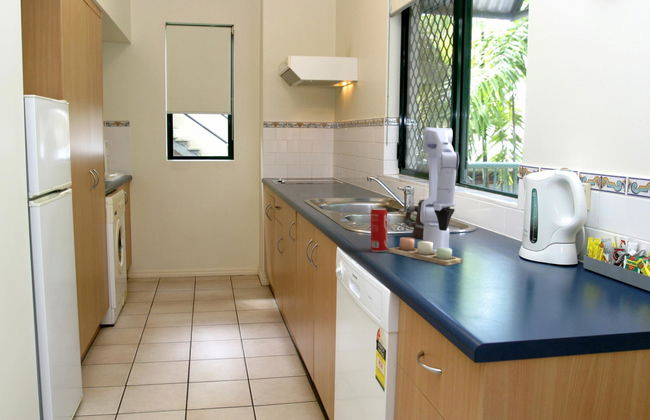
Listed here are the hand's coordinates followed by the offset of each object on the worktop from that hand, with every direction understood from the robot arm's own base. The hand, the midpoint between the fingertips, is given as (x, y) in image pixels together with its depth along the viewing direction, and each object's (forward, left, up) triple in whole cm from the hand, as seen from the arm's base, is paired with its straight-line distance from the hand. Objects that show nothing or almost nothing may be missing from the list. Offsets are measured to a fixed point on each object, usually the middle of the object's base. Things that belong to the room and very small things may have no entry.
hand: (443, 230), depth 202 cm
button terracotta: (+1, -14, -8) cm, 17 cm away
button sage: (+1, +2, -10) cm, 10 cm away
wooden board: (+1, -6, -10) cm, 12 cm away
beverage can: (+7, -22, -10) cm, 25 cm away
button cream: (+1, -6, -9) cm, 11 cm away
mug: (-30, -33, -10) cm, 46 cm away
